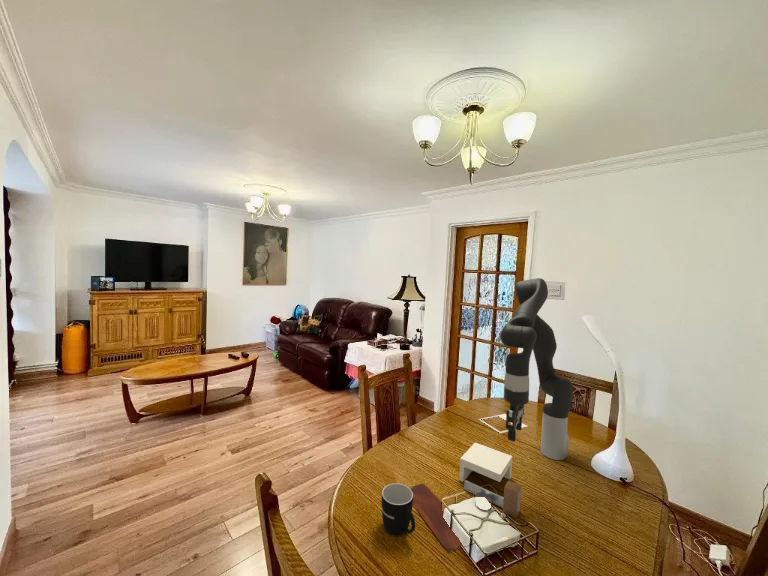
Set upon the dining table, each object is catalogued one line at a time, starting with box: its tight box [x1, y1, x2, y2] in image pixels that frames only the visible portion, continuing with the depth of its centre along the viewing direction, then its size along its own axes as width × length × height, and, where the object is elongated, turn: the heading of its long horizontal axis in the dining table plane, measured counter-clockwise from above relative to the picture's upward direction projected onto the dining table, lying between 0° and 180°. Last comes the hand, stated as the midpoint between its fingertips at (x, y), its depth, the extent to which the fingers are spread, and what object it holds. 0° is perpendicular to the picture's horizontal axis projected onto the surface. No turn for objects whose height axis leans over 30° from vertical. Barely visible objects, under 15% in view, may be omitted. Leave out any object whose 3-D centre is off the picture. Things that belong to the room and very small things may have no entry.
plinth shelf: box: [458, 442, 513, 483], centre depth 114 cm, size 14×14×8 cm
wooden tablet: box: [409, 483, 463, 553], centre depth 96 cm, size 27×10×2 cm, turn 25°
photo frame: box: [478, 413, 529, 435], centre depth 158 cm, size 15×1×18 cm
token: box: [474, 492, 493, 505], centre depth 101 cm, size 5×5×2 cm
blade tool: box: [463, 479, 522, 519], centre depth 102 cm, size 18×4×8 cm, turn 52°
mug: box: [381, 482, 416, 537], centre depth 89 cm, size 12×9×10 cm
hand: (514, 434), depth 104 cm, fingers open, 8 cm apart
